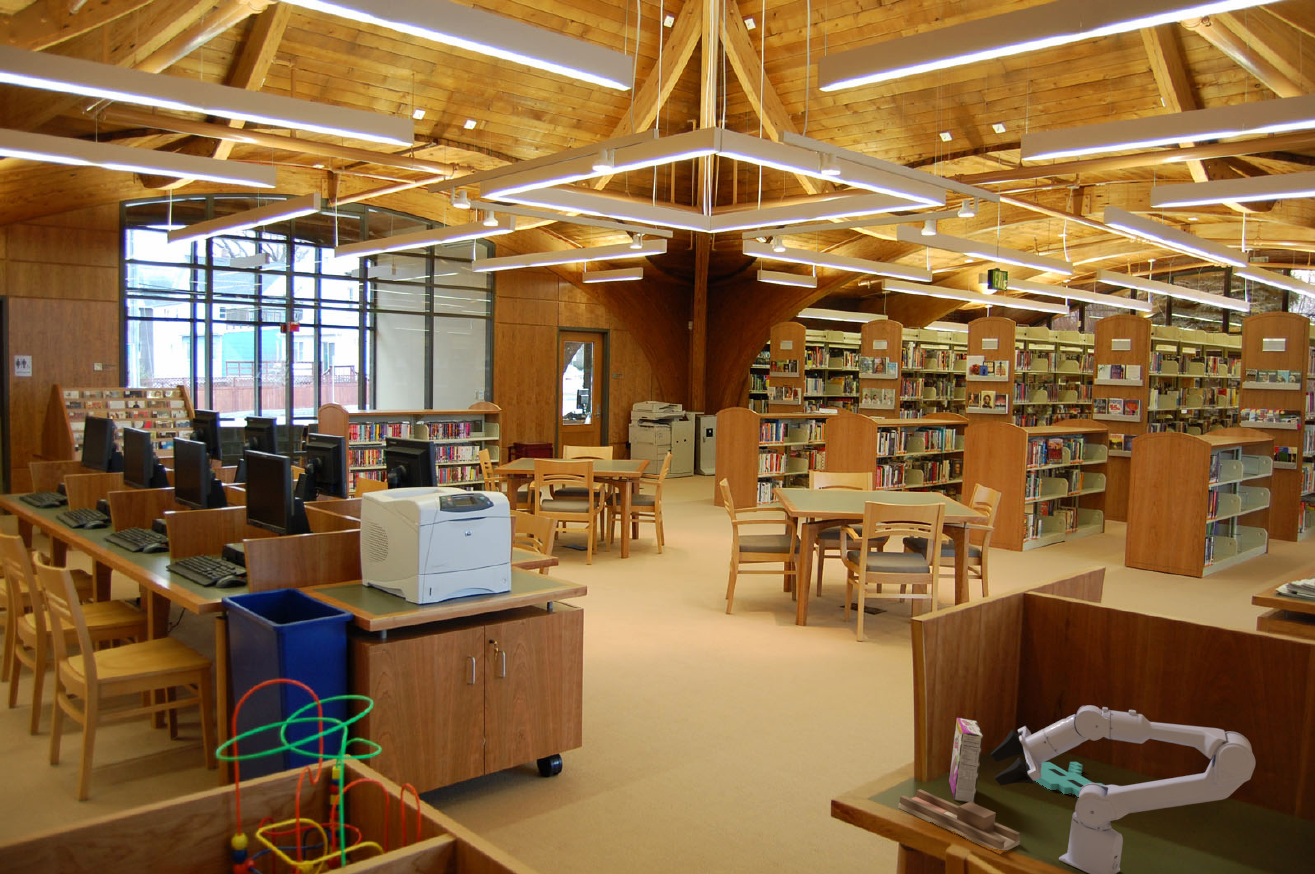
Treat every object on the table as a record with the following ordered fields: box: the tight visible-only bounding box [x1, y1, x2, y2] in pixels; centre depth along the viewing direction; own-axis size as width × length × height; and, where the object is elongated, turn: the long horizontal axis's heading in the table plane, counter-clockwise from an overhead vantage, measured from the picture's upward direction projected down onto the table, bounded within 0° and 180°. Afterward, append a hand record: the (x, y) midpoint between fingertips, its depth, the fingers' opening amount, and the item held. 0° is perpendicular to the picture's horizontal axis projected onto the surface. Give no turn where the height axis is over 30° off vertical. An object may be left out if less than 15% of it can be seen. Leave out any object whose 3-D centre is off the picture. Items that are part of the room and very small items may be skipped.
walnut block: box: [957, 802, 997, 833], centre depth 198 cm, size 6×5×4 cm
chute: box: [898, 789, 1021, 851], centre depth 201 cm, size 24×9×2 cm, turn 43°
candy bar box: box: [948, 717, 984, 804], centre depth 219 cm, size 11×5×16 cm, turn 168°
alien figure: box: [1035, 761, 1105, 797], centre depth 235 cm, size 20×2×20 cm
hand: (995, 769), depth 198 cm, fingers open, 7 cm apart
